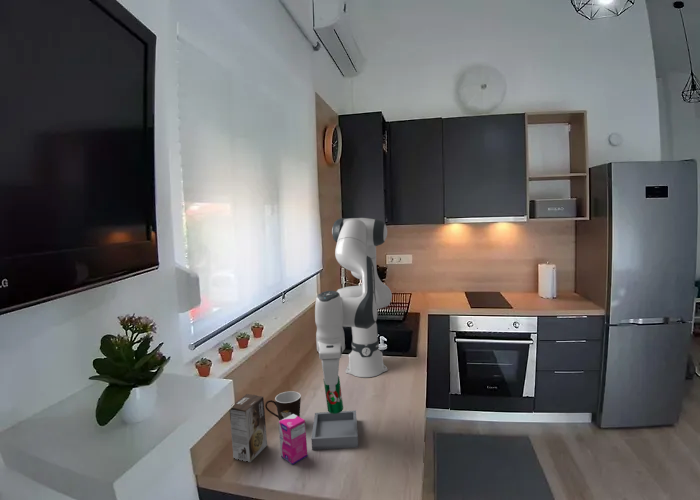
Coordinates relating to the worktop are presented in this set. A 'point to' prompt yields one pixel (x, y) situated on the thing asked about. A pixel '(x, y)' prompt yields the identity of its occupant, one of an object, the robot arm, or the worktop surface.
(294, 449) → the supplement box
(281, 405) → the coffee mug
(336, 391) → the soda can
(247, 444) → the coffee box
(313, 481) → the worktop surface
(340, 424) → the tray
